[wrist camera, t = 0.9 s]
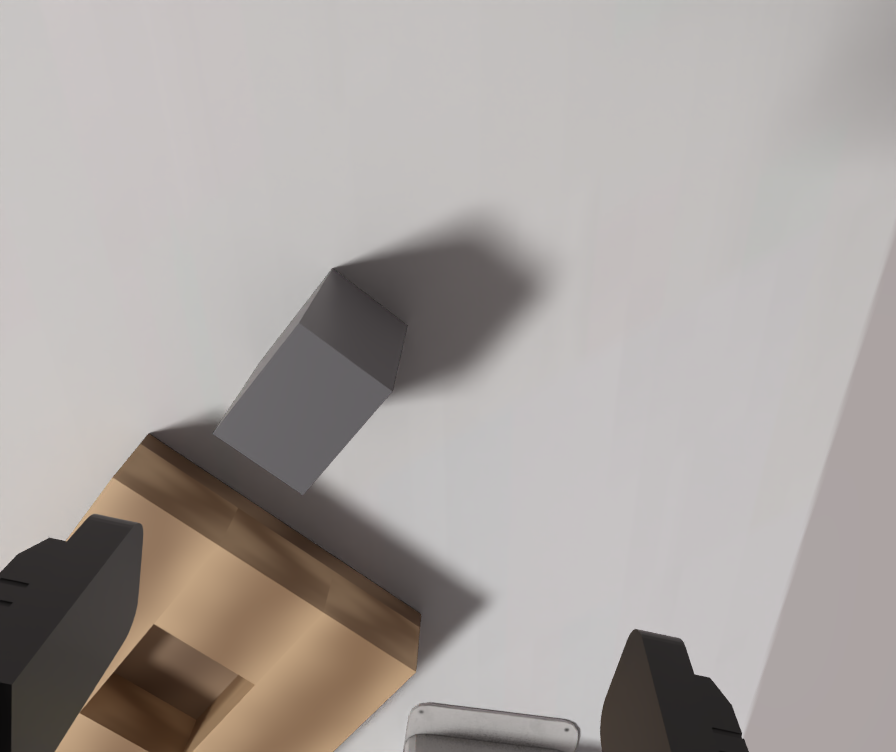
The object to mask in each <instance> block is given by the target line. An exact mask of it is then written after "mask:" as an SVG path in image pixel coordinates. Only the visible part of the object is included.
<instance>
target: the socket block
mask: <svg viewBox="0 0 896 752" xmlns="http://www.w3.org/2000/svg"><path fill="white" fill-rule="evenodd" d="M92 514H99V515H104V516H109V517H113V518H118V519H123V520H128V521H132V522H137V523H141V524H142V526H143V547H142V559H141V572H140V584H139V597H138V605H137V610H136V614H135V617H134V620H133V624H132V626H131V629H130V631H129V633H128V636H127V638H126V639H125V641H124V643H123V645H122V646H121V648H120V649H119V651H118V652H117V654H116V656H115V657H114V659H113V660H112V662H111V664H110V665H109V667H108V668H107V670H106V671H105V673H104V675H103V676H102V678H101V679H100V681H99V682H98V684H97V686H96V687H95V689H94V690H93V692H92V694H91V695H90V697H89V698H88V700H87V701H86V703H85V705H84V706H83V708H82V709H81V711H80V713H79V714H78V716H77V717H76V719H75V720H74V722H73V724H72V725H71V727H70V728H69V730H68V732H67V733H66V735H65V736H64V738H63V739H62V741H61V743H60V744H59V746H58V747H57V749H56V751H55V752H333V751H334V750H335V749H336V748H337V747H338V746H339V745H341V744H342V743H343V742H344V741H345V740H346V739H347V738H348V737H349V736H350V735H351V734H352V733H353V732H354V731H355V730H356V729H357V728H358V727H359V726H360V725H361V724H362V723H363V722H364V721H366V720H367V719H368V718H369V717H370V716H371V715H372V714H373V713H374V712H375V711H376V710H377V709H378V708H379V707H380V706H381V705H382V704H383V703H384V702H385V701H386V700H387V699H388V698H389V697H391V696H392V695H393V694H394V693H395V692H396V691H397V690H398V689H399V688H400V687H401V686H402V685H403V684H404V683H405V682H406V681H407V680H408V679H409V678H410V677H411V676H412V675H413V674H414V673H416V667H417V656H418V645H419V633H420V622H421V614H420V613H419V612H417V611H416V610H414V609H413V608H411V607H410V606H408V605H407V604H405V603H404V602H402V601H401V600H399V599H398V598H396V597H395V596H393V595H392V594H390V593H389V592H387V591H385V590H384V589H382V588H381V587H379V586H378V585H376V584H375V583H373V582H372V581H370V580H369V579H367V578H366V577H364V576H363V575H361V574H360V573H358V572H357V571H355V570H354V569H352V568H351V567H349V566H348V565H346V564H345V563H343V562H342V561H340V560H339V559H337V558H336V557H334V556H333V555H331V554H330V553H328V552H327V551H325V550H324V549H322V548H321V547H319V546H318V545H316V544H315V543H313V542H312V541H310V540H309V539H307V538H306V537H304V536H303V535H301V534H299V533H298V532H296V531H295V530H293V529H292V528H290V527H289V526H287V525H286V524H284V523H283V522H281V521H280V520H278V519H277V518H275V517H274V516H272V515H271V514H269V513H268V512H266V511H265V510H263V509H262V508H260V507H259V506H257V505H256V504H254V503H253V502H251V501H250V500H248V499H247V498H245V497H244V496H242V495H241V494H239V493H238V492H236V491H235V490H233V489H232V488H230V487H229V486H227V485H226V484H224V483H223V482H221V481H220V480H218V479H217V478H215V477H213V476H212V475H210V474H209V473H207V472H206V471H204V470H203V469H201V468H200V467H198V466H197V465H195V464H194V463H192V462H191V461H189V460H188V459H186V458H185V457H183V456H182V455H180V454H179V453H177V452H176V451H174V450H173V449H171V448H170V447H168V446H167V445H165V444H164V443H162V442H161V441H159V440H158V439H156V438H155V437H153V436H152V435H150V434H148V435H147V436H146V437H145V439H144V440H143V441H142V442H141V443H140V445H139V446H138V447H137V448H136V450H135V451H134V452H133V453H132V454H131V456H130V457H129V458H128V459H127V461H126V462H125V463H124V464H123V465H122V467H121V468H120V469H119V470H118V472H117V473H116V474H115V475H114V476H113V478H112V479H111V480H110V482H109V483H108V484H107V486H106V487H105V488H104V490H103V491H102V493H101V494H100V495H99V497H98V498H97V499H96V501H95V502H94V503H93V505H92V506H91V507H90V509H89V510H88V512H87V513H86V514H85V516H84V517H83V518H82V520H81V521H80V522H79V524H78V525H77V526H76V528H75V529H74V530H73V532H72V533H71V535H70V536H69V537H68V539H67V540H66V541H68V540H69V538H70V537H71V536H72V535H73V534H74V533H75V532H76V530H77V529H78V528H79V527H80V526H81V525H82V524H83V522H84V521H85V520H86V519H87V518H88V517H89V516H90V515H92Z"/></svg>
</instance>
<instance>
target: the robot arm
mask: <svg viewBox="0 0 896 752" xmlns="http://www.w3.org/2000/svg"><path fill="white" fill-rule="evenodd" d="M142 547H143V526H142V524H141V523H137V522H132V521H128V520H123V519H118V518H113V517H109V516H104V515H99V514H92V515H90V516H89V517H88V518H87V519H86V520H85V521H84V522H83V524H82V525H81V526H80V527H79V528H78V529H77V530H76V532H75V533H74V534H73V535H72V536H71V537H70V538H69V540H68V541H62V540H58V539H53V538H48V539H46V540H44V541H42V542H40V543H39V544H37V545H35V546H33V547H31V548H29V549H27V550H25V551H23V552H21V553H19V554H18V555H17V556H16V557H15V558H14V559H13V560H12V561H11V562H10V563H9V564H8V565H7V566H6V567H5V568H4V569H3V570H2V571H1V572H0V752H55V751H56V749H57V747H58V746H59V744H60V743H61V741H62V739H63V738H64V736H65V735H66V733H67V732H68V730H69V728H70V727H71V725H72V724H73V722H74V720H75V719H76V717H77V716H78V714H79V713H80V711H81V709H82V708H83V706H84V705H85V703H86V701H87V700H88V698H89V697H90V695H91V694H92V692H93V690H94V689H95V687H96V686H97V684H98V682H99V681H100V679H101V678H102V676H103V675H104V673H105V671H106V670H107V668H108V667H109V665H110V664H111V662H112V660H113V659H114V657H115V656H116V654H117V652H118V651H119V649H120V648H121V646H122V645H123V643H124V641H125V639H126V638H127V636H128V633H129V631H130V629H131V626H132V624H133V620H134V617H135V614H136V610H137V605H138V597H139V584H140V572H141V559H142ZM600 736H601V746H602V752H749V751H748V748H747V746H746V743H745V740H744V739H742V737H741V736H742V732H741V729H740V727H739V724H738V721H737V718H736V716H735V713H734V710H733V708H732V705H731V704H730V702H729V701H728V700H727V699H726V697H725V696H724V695H723V694H722V692H721V691H720V690H719V689H718V687H717V686H716V685H715V684H714V682H713V681H712V680H711V679H710V678H708V677H704V676H699V675H694V672H693V669H692V666H691V663H690V660H689V656H688V653H687V650H686V647H685V645H684V642H683V641H682V640H681V639H680V638H676V637H671V636H666V635H661V634H657V633H652V632H647V631H642V630H638V629H635V630H633V631H632V632H631V634H630V635H629V637H628V640H627V642H626V645H625V647H624V650H623V653H622V655H621V658H620V661H619V663H618V666H617V669H616V671H615V674H614V677H613V679H612V682H611V685H610V687H609V690H608V693H607V695H606V698H605V701H604V705H603V710H602V716H601V726H600Z"/></svg>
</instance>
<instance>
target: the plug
mask: <svg viewBox="0 0 896 752" xmlns="http://www.w3.org/2000/svg"><path fill="white" fill-rule="evenodd" d="M407 326H408V325H406V324H405V323H404V322H402V321H401V320H400V319H398V318H397V317H396V316H394V315H393V314H392V313H390V312H389V311H388V310H387V309H385V308H384V307H383V306H381V305H380V304H379V303H377V302H376V301H375V300H373V299H372V298H371V297H370V296H368V295H367V294H366V293H364V292H363V291H362V290H360V289H359V288H358V287H356V286H355V285H354V284H352V283H351V282H350V281H349V280H347V279H346V278H345V277H343V276H342V275H341V274H339V273H338V272H337V271H335V270H334V269H333V268H332V269H331V271H330V272H329V273H328V275H327V276H326V277H325V278H324V280H323V281H322V282H321V284H320V285H319V286H318V287H317V289H316V290H315V291H314V293H313V294H312V295H311V296H310V298H309V299H308V300H307V302H306V303H305V304H304V306H303V307H302V308H301V309H300V311H299V312H298V313H297V315H296V316H295V317H294V318H293V320H292V321H291V322H290V324H289V325H288V326H287V328H286V329H285V330H284V331H283V333H282V334H281V335H280V337H279V338H278V339H277V340H276V342H275V343H274V344H273V346H272V347H271V348H270V349H269V351H268V352H267V353H266V355H265V356H264V357H263V359H262V360H261V361H260V363H259V364H258V366H257V367H256V369H255V370H254V372H253V373H252V375H251V376H250V378H249V379H248V381H247V382H246V384H245V385H244V387H243V388H242V390H241V391H240V393H239V394H238V396H237V397H236V399H235V400H234V402H233V403H232V405H231V406H230V408H229V409H228V411H227V413H226V414H225V416H224V417H223V419H222V420H221V422H220V423H219V425H218V426H217V428H216V429H215V431H214V432H213V435H215V436H216V437H218V438H219V439H221V440H222V441H224V442H225V443H227V444H228V445H230V446H231V447H233V448H234V449H235V450H237V451H238V452H240V453H241V454H243V455H244V456H246V457H247V458H249V459H250V460H252V461H253V462H255V463H256V464H258V465H259V466H261V467H262V468H263V469H265V470H266V471H268V472H269V473H271V474H272V475H274V476H275V477H277V478H278V479H280V480H281V481H283V482H284V483H286V484H287V485H289V486H290V487H292V488H293V489H294V490H296V491H297V492H299V493H300V494H302V495H304V493H305V492H306V491H307V490H308V489H309V488H310V486H311V485H312V484H313V483H314V482H315V481H316V479H317V478H318V477H319V476H320V475H321V474H322V473H323V471H324V470H325V469H326V468H327V467H328V466H329V464H330V463H331V462H332V461H333V460H334V459H335V457H336V456H337V455H338V454H339V453H340V452H341V450H342V449H343V448H344V447H345V446H346V445H347V444H348V442H349V441H350V440H351V439H352V438H353V437H354V435H355V434H356V433H357V432H358V431H359V430H360V428H361V427H362V426H363V425H364V424H365V423H366V421H367V420H368V419H369V418H370V417H371V416H372V415H373V413H374V412H375V411H376V410H377V409H378V408H379V406H380V405H381V404H382V403H383V402H384V401H385V399H386V398H387V397H388V396H389V395H390V394H391V393H392V391H393V386H394V382H395V378H396V373H397V369H398V365H399V360H400V356H401V352H402V347H403V343H404V339H405V334H406V330H407Z"/></svg>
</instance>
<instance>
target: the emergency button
mask: <svg viewBox="0 0 896 752" xmlns="http://www.w3.org/2000/svg"><path fill="white" fill-rule="evenodd" d="M577 741H578V730H577V728H576V727H575V725H574V724H573V723H572V722H569V721H567V720H564V719H556V718H548V717H540V716H532V715H524V714H516V713H508V712H499V711H491V710H483V709H475V708H467V707H459V706H451V705H443V704H435V703H421V704H418V705H417V706H415V707H414V708H412V710H411V712H410V714H409V716H408V723H407V729H406V736H405V742H404V749H403V752H575V749H576V745H577Z"/></svg>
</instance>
